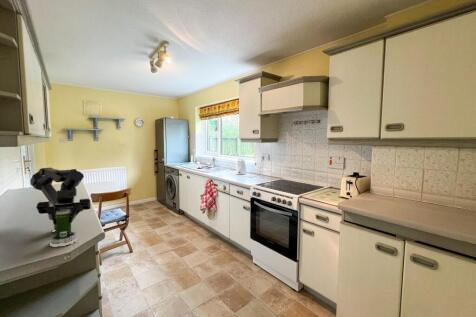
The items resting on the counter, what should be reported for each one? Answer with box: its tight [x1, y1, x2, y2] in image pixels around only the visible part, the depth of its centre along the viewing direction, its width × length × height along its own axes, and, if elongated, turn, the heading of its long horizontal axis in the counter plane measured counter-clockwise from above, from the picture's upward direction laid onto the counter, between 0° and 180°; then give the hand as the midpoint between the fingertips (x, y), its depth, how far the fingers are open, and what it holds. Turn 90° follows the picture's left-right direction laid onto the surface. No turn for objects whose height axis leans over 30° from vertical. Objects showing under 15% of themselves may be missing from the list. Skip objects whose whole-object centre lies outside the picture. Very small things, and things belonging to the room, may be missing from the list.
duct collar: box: [50, 231, 77, 244], centre depth 95 cm, size 10×10×3 cm
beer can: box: [55, 209, 72, 239], centre depth 95 cm, size 5×5×12 cm
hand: (62, 223), depth 94 cm, fingers closed on beer can, 5 cm apart
